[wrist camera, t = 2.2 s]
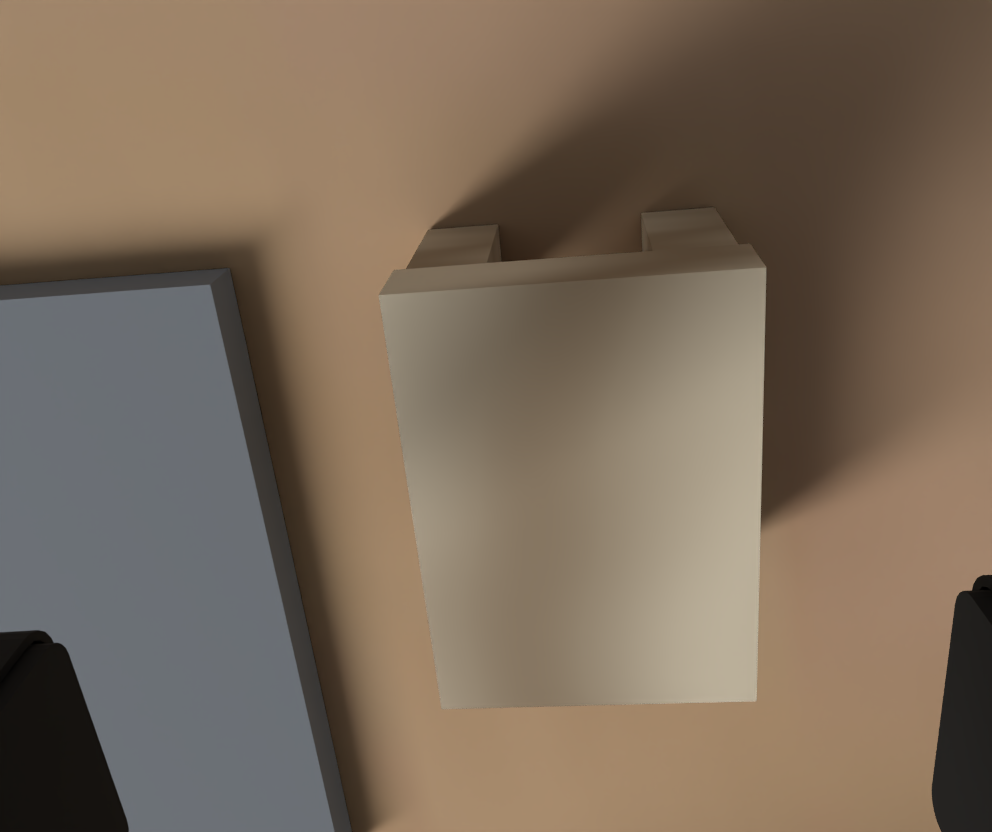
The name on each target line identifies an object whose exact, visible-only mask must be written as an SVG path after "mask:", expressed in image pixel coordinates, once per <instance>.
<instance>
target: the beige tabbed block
mask: <svg viewBox="0 0 992 832" xmlns="http://www.w3.org/2000/svg"><path fill="white" fill-rule="evenodd" d="M641 223H642V252H629V253H616V254H602V255H589V256H575V257H562V258H548V259H535V260H522V261H508V262H502V260H501V250H500V239H499V229H498V224H495V225H482V226H470V227H457V228H444V229H431V230H428V231H427V233H426V234H425V236H424V238H423V240H422V242H421V243H420V245H419V247H418V249H417V250H416V252H415V254H414V256H413V257H412V259H411V261H410V263H409V264H408V266H407V268H406V269H401V270H394V271H393V272H392V274H391V276H390V277H389V279H388V281H387V282H386V284H385V286H384V287H383V289H382V291H381V292H380V294H379V301H380V307H381V314H382V321H383V327H384V334H385V340H386V347H387V353H388V360H389V367H390V373H391V380H392V386H393V393H394V399H395V406H396V413H397V419H398V426H399V432H400V439H401V445H402V452H403V459H404V465H405V472H406V478H407V485H408V491H409V498H410V505H411V511H412V518H413V524H414V531H415V537H416V544H417V551H418V557H419V564H420V570H421V577H422V583H423V590H424V597H425V603H426V610H427V616H428V623H429V629H430V636H431V643H432V649H433V656H434V662H435V669H436V675H437V682H438V689H439V695H440V702H441V708H442V709H468V708H508V707H547V706H587V705H626V704H665V703H705V702H744V701H756V698H757V655H758V612H759V568H760V525H761V482H762V438H763V395H764V352H765V308H766V266H765V265H764V263H763V262H762V260H761V259H760V257H759V256H758V254H757V253H756V251H755V250H754V249H753V247H752V246H751V244H738V243H737V242H736V240H735V239H734V237H733V235H732V234H731V232H730V231H729V229H728V228H727V226H726V225H725V223H724V221H723V220H722V218H721V217H720V215H719V214H718V212H717V210H716V209H715V207H711V208H698V209H685V210H673V211H660V212H647V213H641Z"/></svg>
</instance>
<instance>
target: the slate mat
mask: <svg viewBox="0 0 992 832" xmlns="http://www.w3.org/2000/svg"><path fill="white" fill-rule="evenodd" d="M31 630H40V631H44V632H46V633H47V634H48V635H49V636H50V637H51V638H52V640H53V642H54V643H60V644H62V645H63V646H64V647H66V649H67V651H68V653H69V656H70V659H71V661H72V664H73V667H74V670H75V673H76V676H77V679H78V681H79V684H80V687H81V690H82V693H83V696H84V699H85V701H86V704H87V707H88V710H89V713H90V716H91V719H92V721H93V724H94V727H95V730H96V733H97V736H98V739H99V741H100V744H101V747H102V750H103V753H104V756H105V759H106V761H107V764H108V767H109V770H110V773H111V776H112V779H113V781H114V784H115V787H116V790H117V793H118V796H119V798H120V801H121V804H122V807H123V810H124V813H125V816H126V818H127V822H128V826H129V832H352V830H351V825H350V821H349V816H348V811H347V807H346V802H345V798H344V793H343V788H342V784H341V779H340V774H339V770H338V765H337V761H336V756H335V751H334V747H333V742H332V738H331V733H330V728H329V724H328V719H327V715H326V710H325V705H324V701H323V696H322V692H321V687H320V682H319V678H318V673H317V668H316V664H315V659H314V655H313V650H312V645H311V641H310V636H309V632H308V627H307V622H306V618H305V613H304V609H303V604H302V599H301V595H300V590H299V586H298V581H297V576H296V572H295V567H294V562H293V558H292V553H291V549H290V544H289V539H288V535H287V530H286V526H285V521H284V516H283V512H282V507H281V503H280V498H279V493H278V489H277V484H276V480H275V475H274V470H273V466H272V461H271V456H270V452H269V447H268V443H267V438H266V433H265V429H264V424H263V420H262V415H261V410H260V406H259V401H258V397H257V392H256V387H255V383H254V378H253V374H252V369H251V364H250V360H249V355H248V350H247V346H246V341H245V337H244V332H243V327H242V323H241V318H240V314H239V309H238V304H237V300H236V295H235V291H234V286H233V281H232V277H231V272H230V268H224V269H211V270H198V271H185V272H172V273H158V274H145V275H132V276H119V277H106V278H93V279H80V280H67V281H53V282H40V283H27V284H14V285H1V286H0V632H14V631H31Z"/></svg>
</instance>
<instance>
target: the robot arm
mask: <svg viewBox="0 0 992 832" xmlns="http://www.w3.org/2000/svg"><path fill="white" fill-rule="evenodd" d="M932 801H933V807H934V812H935V816H936V819H937V822H938V825H939V827H940V829H941V832H992V575H982V576H980V577H978V578H977V579H976V581H975V583H974V585H973V589H972V591H962V592H960V593H959V595H958V596H957V599H956V603H955V610H954V618H953V625H952V633H951V641H950V649H949V657H948V665H947V673H946V680H945V688H944V696H943V704H942V712H941V720H940V728H939V736H938V743H937V751H936V759H935V767H934V775H933V783H932ZM0 832H129V826H128V822H127V818H126V816H125V813H124V810H123V807H122V804H121V801H120V798H119V796H118V793H117V790H116V787H115V784H114V781H113V779H112V776H111V773H110V770H109V767H108V764H107V761H106V759H105V756H104V753H103V750H102V747H101V744H100V741H99V739H98V736H97V733H96V730H95V727H94V724H93V721H92V719H91V716H90V713H89V710H88V707H87V704H86V701H85V699H84V696H83V693H82V690H81V687H80V684H79V681H78V679H77V676H76V673H75V670H74V667H73V664H72V661H71V659H70V656H69V653H68V651H67V649H66V647H64V646H63V645H62V644H60V643H54V642H53V640H52V638H51V637H50V636H49V635H48V634H47V633H46V632H44V631H40V630H31V631H14V632H0Z"/></svg>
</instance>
